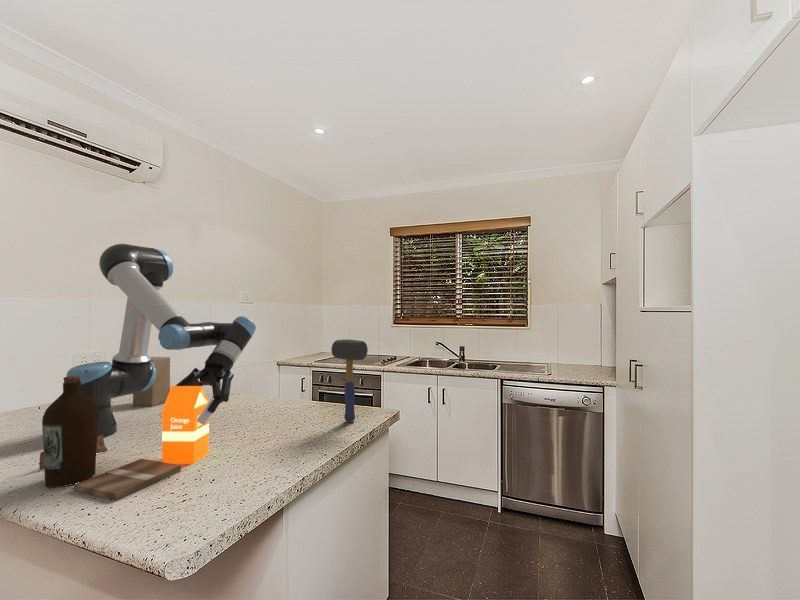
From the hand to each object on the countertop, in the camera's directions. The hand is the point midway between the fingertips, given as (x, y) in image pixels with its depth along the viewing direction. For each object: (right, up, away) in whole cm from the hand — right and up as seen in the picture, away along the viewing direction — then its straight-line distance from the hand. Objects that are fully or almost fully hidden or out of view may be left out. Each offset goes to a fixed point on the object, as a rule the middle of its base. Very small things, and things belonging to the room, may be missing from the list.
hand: (181, 420), depth 105 cm
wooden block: (-50, -13, +64) cm, 82 cm away
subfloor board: (-5, -11, -12) cm, 17 cm away
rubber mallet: (+42, -12, +35) cm, 56 cm away
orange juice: (+1, -11, +2) cm, 11 cm away
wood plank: (-30, -12, 0) cm, 32 cm away
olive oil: (-21, -11, -11) cm, 26 cm away
